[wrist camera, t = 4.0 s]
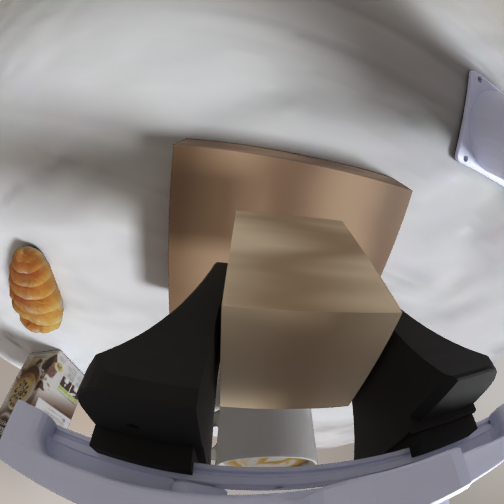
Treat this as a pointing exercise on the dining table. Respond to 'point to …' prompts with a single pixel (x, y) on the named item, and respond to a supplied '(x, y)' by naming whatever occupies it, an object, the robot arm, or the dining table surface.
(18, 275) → the pastry
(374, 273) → the beech block
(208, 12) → the dining table surface
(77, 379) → the coffee box
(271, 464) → the coffee mug
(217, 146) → the walnut base
